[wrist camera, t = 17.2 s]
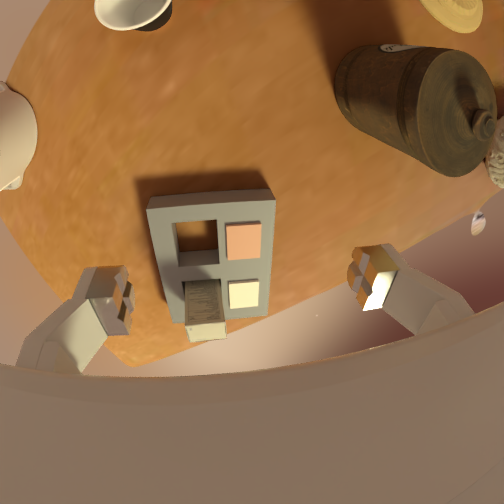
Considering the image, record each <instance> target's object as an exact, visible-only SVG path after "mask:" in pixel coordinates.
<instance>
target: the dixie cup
mask: <svg viewBox="0 0 504 504" xmlns="http://www.w3.org/2000/svg"><path fill="white" fill-rule="evenodd" d="M94 10H95V14H96V17H97V18H98V20H99V21H100V22H101V23H102V24H103V25H104V26H106V27H108V28H111V29H114V30H131V29H132V30H139V31H153V30H156V29H158V28H160V27H162V26H163V25H165V24H166V23H167V21H168V20H169V19H170V17H171V14H172V0H95V3H94Z"/></svg>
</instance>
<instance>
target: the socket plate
mask: <svg viewBox="0 0 504 504" xmlns="http://www.w3.org/2000/svg"><path fill="white" fill-rule="evenodd" d="M275 207H276V199H275V197H274V195H273V193H272V191H271V190H270V189H249V190H230V191H214V192H200V193H187V194H176V195H165V196H155V197H150V200H149V203H148V205H147V208H146V212H147V217H148V222H149V227H150V232H151V237H152V242H153V247H154V251H155V256H156V260H157V264H158V268H159V273H160V277H161V281H162V285H163V289H164V292H165V296H166V300H167V304H168V307H169V311H170V314H171V318H172V321H173V323H185V281H194V280H207V279H220V280H221V293H222V301H223V308H224V315H225V320H227V319H237V318H248V317H257V316H266V315H267V313H268V301H269V289H270V276H271V263H272V250H273V237H274V222H275ZM215 219H217V236H218V249H213V250H200V251H187V252H180V250H179V244H178V237H177V231H176V224H175V223H177V222H189V221H202V220H215Z"/></svg>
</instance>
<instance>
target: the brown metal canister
mask: <svg viewBox="0 0 504 504" xmlns="http://www.w3.org/2000/svg"><path fill="white" fill-rule="evenodd" d="M335 95H336V99H337V102H338V105H339V108H340V110H341V112H342V114H343V115H344V116H345V118H346V119H347V120H348V121H349V122H350V123H351V124H352V125H353V126H354V127H356V128H357V129H359V130H360V131H362V132H364V133H366V134H368V135H370V136H372V137H374V138H376V139H378V140H380V141H382V142H384V143H386V144H388V145H390V146H392V147H394V148H396V149H398V150H400V151H402V152H404V153H406V154H408V155H410V156H411V157H413V158H415V159H417V160H419V161H420V162H422V163H423V164H425V165H426V166H428V167H429V168H431V169H433V170H435V171H437V172H438V173H440V174H443V175H445V176H448V177H460V176H463V175H466V174H468V173H470V172H471V171H472V170H474V169H475V168H476V167H477V166H478V165H479V164H480V163H481V162H482V160H483V159H484V157H485V156H486V154H487V153H488V151H489V149H490V146H491V144H492V141H493V138H494V135H495V130H496V124H497V103H496V95H495V91H494V88H493V85H492V82H491V80H490V78H489V76H488V74H487V72H486V70H485V69H484V67H483V66H482V65H481V64H480V63H479V62H478V61H477V60H476V59H475V58H474V57H472V56H471V55H469V54H467V53H465V52H462V51H459V50H453V49H446V48H435V47H425V46H413V45H396V44H385V45H369V46H363V47H359V48H357V49H355V50H353V51H351V52H350V53H349V54H348V55H347V56H346V57H345V58H344V59H343V60H342V62H341V64H340V65H339V68H338V70H337V73H336V77H335Z"/></svg>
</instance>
